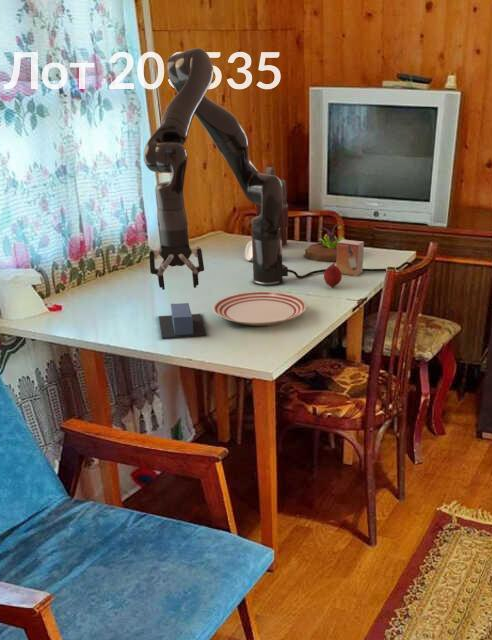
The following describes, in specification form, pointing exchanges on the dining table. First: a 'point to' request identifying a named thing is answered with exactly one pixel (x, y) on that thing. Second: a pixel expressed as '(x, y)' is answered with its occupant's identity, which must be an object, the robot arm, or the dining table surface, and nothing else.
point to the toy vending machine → (284, 209)
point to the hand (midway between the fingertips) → (179, 287)
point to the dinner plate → (260, 308)
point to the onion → (332, 275)
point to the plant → (325, 247)
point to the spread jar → (250, 254)
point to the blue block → (182, 319)
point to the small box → (350, 257)
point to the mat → (168, 328)
